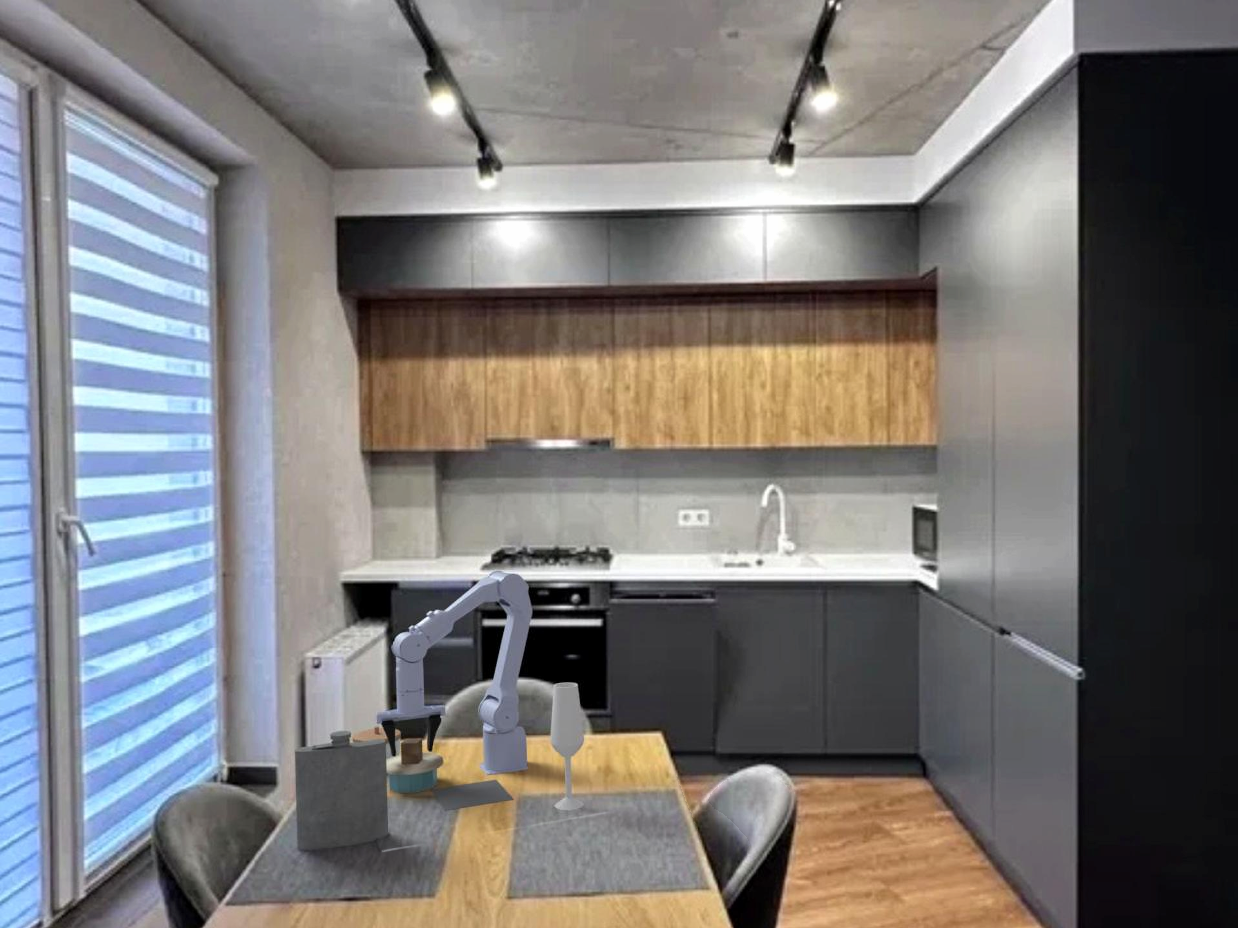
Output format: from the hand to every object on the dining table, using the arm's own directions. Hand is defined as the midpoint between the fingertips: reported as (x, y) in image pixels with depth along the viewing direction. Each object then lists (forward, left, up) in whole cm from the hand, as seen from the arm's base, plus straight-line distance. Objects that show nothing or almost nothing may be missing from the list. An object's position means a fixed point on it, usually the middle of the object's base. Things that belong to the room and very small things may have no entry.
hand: (411, 752), depth 203 cm
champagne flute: (-26, +27, -7) cm, 38 cm away
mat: (-10, +12, -7) cm, 17 cm away
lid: (0, 0, -3) cm, 3 cm away
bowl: (0, 0, -7) cm, 7 cm away
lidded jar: (+5, -17, -7) cm, 19 cm away
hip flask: (+17, +26, -7) cm, 32 cm away
